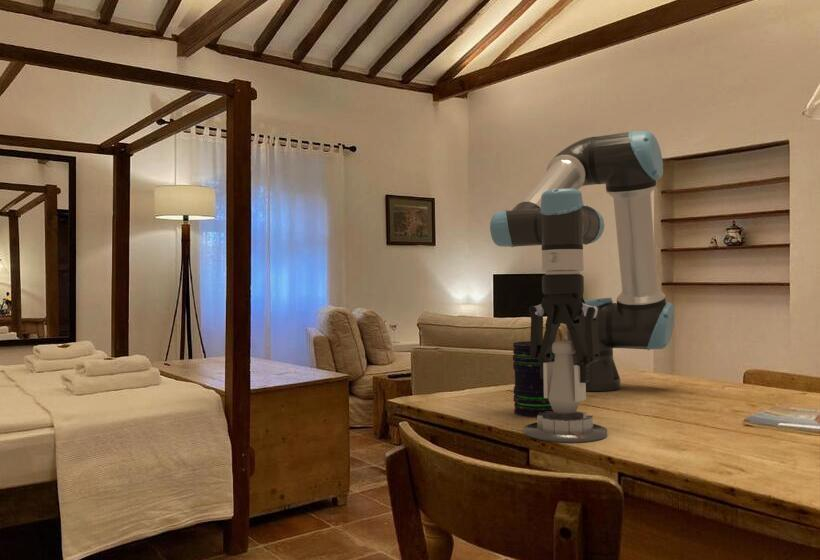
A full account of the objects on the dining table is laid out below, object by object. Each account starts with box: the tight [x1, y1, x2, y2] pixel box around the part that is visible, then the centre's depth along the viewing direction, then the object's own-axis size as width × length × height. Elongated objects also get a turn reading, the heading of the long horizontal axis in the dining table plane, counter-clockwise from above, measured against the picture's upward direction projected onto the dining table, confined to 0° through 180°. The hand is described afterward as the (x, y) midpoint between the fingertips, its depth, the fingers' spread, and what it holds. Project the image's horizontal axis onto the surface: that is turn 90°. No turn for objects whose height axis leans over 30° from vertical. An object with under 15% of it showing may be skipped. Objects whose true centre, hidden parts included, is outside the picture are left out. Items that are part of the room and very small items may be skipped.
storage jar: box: [512, 340, 555, 418], centre depth 148 cm, size 10×10×15 cm
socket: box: [523, 411, 608, 444], centre depth 128 cm, size 15×15×3 cm
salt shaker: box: [548, 340, 581, 413], centre depth 128 cm, size 6×6×13 cm
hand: (564, 398), depth 128 cm, fingers closed on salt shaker, 6 cm apart
